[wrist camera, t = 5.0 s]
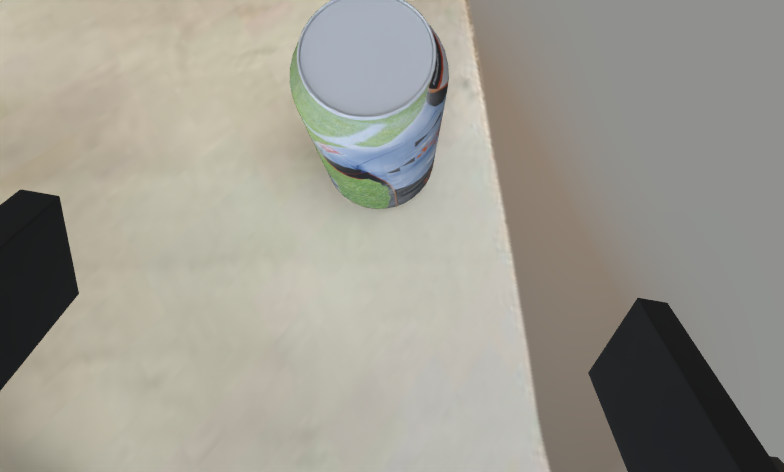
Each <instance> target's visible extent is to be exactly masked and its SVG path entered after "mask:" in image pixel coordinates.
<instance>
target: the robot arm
mask: <svg viewBox="0 0 784 472" xmlns="http://www.w3.org/2000/svg"><path fill="white" fill-rule="evenodd" d="M78 294H79V292H78V287H77V282H76V277H75V272H74V267H73V262H72V257H71V252H70V247H69V242H68V237H67V232H66V227H65V222H64V217H63V212H62V207H61V202H60V197H59V196H55V195H49V194H44V193H38V192H32V191H27V190H19V191H18V192H17V193H15V194H14V195H13V196H11V197H10V198H9V199H8V200H6V201H5V202H4V203H2V204H1V205H0V390H1V389H2V388H3V387H4V385H5V384H6V383H7V382H8V381H9V379H10V378H11V377H12V376H13V374H14V373H15V372H16V371H17V369H18V368H19V367H20V366H21V364H22V363H23V362H24V361H25V360H26V358H27V357H28V356H29V355H30V353H31V352H32V351H33V350H34V348H35V347H36V346H37V345H38V343H39V342H40V341H41V340H42V338H43V337H44V336H45V335H46V334H47V332H48V331H49V330H50V329H51V327H52V326H53V325H54V324H55V322H56V321H57V320H58V319H59V317H60V316H61V315H62V314H63V313H64V311H65V310H66V309H67V308H68V306H69V305H70V304H71V303H72V301H73V300H74V299H75V298H76V296H77V295H78ZM589 376H590V378H591V381H592V383H593V386H594V388H595V391H596V393H597V396H598V398H599V401H600V403H601V406H602V408H603V411H604V413H605V416H606V418H607V421H608V423H609V426H610V428H611V431H612V433H613V436H614V438H615V441H616V443H617V446H618V448H619V451H620V453H621V456H622V458H623V461H624V463H625V466H626V468H627V471H628V472H784V463H783V462H782V461H781V460H780V459H779V458H778V457H770V456H769V455H768V454H767V452H766V451H765V449H764V448H763V446H762V445H761V443H760V442H759V440H758V439H757V437H756V436H755V434H754V433H753V431H752V430H751V428H750V427H749V425H748V424H747V422H746V421H745V419H744V418H743V416H742V415H741V413H740V412H739V410H738V409H737V407H736V406H735V404H734V403H733V401H732V400H731V398H730V397H729V395H728V394H727V392H726V391H725V389H724V388H723V386H722V385H721V383H720V382H719V380H718V379H717V377H716V376H715V374H714V373H713V371H712V370H711V368H710V367H709V365H708V364H707V362H706V360H705V359H704V358H703V356H702V355H701V353H700V351H699V350H698V348H697V347H696V346H695V344H694V342H693V341H692V339H691V338H690V337H689V335H688V334H687V332H686V330H685V329H684V327H683V326H682V324H681V323H680V321H679V320H678V318H677V317H676V315H675V314H674V312H673V311H672V309H671V308H670V306H669V305H668V303H665V302H659V301H653V300H647V299H641V298H637V300H636V301H635V303H634V304H633V306H632V308H631V309H630V311H629V312H628V314H627V315H626V317H625V318H624V320H623V321H622V323H621V324H620V326H619V327H618V329H617V330H616V332H615V333H614V335H613V336H612V338H611V339H610V341H609V342H608V344H607V345H606V347H605V348H604V350H603V352H602V353H601V354H600V356H599V358H598V359H597V360H596V362H595V364H594V365H593V367H592V368H591V370H590V371H589Z"/></svg>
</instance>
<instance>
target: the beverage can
mask: <svg viewBox="0 0 784 472" xmlns="http://www.w3.org/2000/svg"><path fill="white" fill-rule="evenodd" d="M448 80H449V72H448V62H447V58H446V54H445V50H444V48H443V46H442V44H441V41H440V39H439V37H438V36H437V35H436V33H435V32H434V30H433V29H432V28H431V26H430V25H429V24H428V23H427V21H426V20H425V19H424V17H423V16H422V14H421V13H420V12H419V11H418V10H417V9H415V8H414V7H413V6H412V5H410V4H409V3H408V2H406V1H405V0H331V1H330V2H328V3H326V4H325V5H324V6H322V7H321V8H320V9H319V10H317V11H316V12H315V14H314V15H313V16H312V17H311V18H310V19H309V21H308V22H307V24H306V25H305V27H304V29H303V31H302V34H301V36H300V39H299V41H298V43H297V46H296V48H295V51H294V53H293V57H292V62H291V67H290V86H291V91H292V96H293V99H294V102H295V104H296V107H297V109H298V111H299V114H300V116H301V118H302V120H303V122H304V124H305V126H306V128H307V130H308V132H309V134H310V136H311V138H312V140H313V142H314V145H315V147H316V149H317V151H318V153H319V155H320V157H321V159H322V161H323V163H324V165H325V167H326V169H327V171H328V174H329V176H330V178H331V180H332V181H333V183H334V185H335V186H336V188H337V189H338V190H339V191H340V192H341V193H342V194H343V195H344V196H345V197H346V198H348V199H349V200H351V201H352V202H354V203H356V204H358V205H361V206H364V207H368V208H375V209H381V208H390V207H395V206H398V205H400V204H403V203H405V202H407V201H408V200H410V199H412V198H413V197H414V196H415V195H416V194H418V193H419V192H420V191H421V189H422V188H423V187H424V186H425V184H426V182H427V181H428V179H429V177H430V174H431V171H432V168H433V163H434V157H435V152H436V147H437V141H438V136H439V131H440V126H441V120H442V115H443V110H444V104H445V99H446V94H447V88H448Z"/></svg>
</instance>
